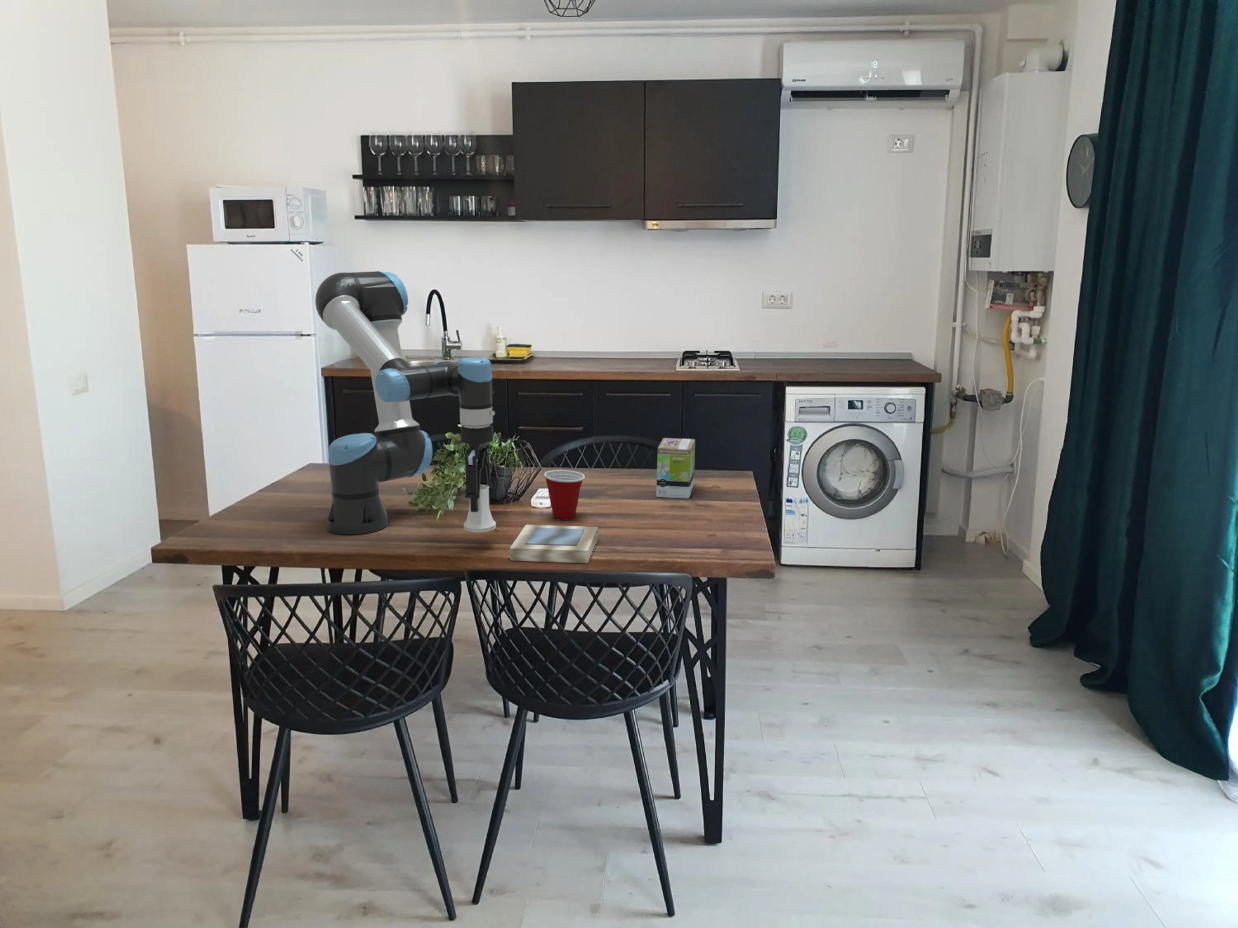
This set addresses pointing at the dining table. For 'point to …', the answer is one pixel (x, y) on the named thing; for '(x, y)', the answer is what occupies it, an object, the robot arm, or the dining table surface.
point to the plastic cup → (564, 492)
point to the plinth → (554, 544)
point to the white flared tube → (486, 514)
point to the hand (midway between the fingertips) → (479, 519)
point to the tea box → (675, 468)
